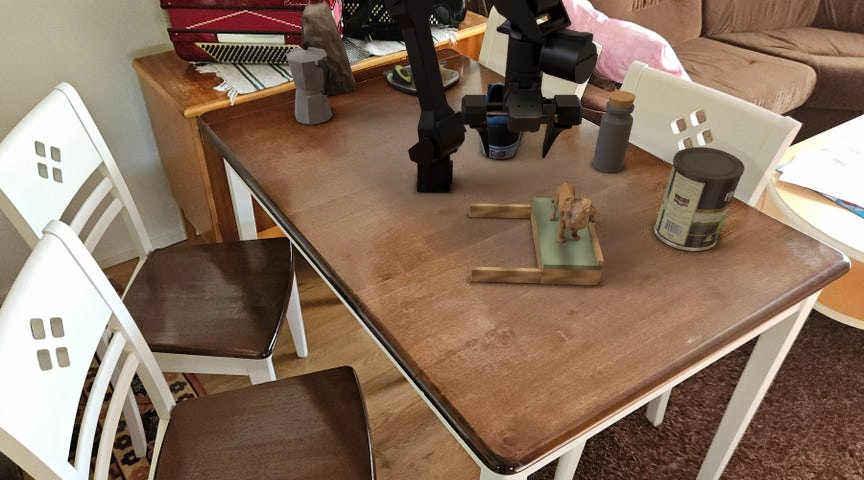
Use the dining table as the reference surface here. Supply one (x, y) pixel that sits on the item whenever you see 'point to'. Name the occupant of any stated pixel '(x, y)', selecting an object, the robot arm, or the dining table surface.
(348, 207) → the dining table surface
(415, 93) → the salad plate
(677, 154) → the coffee can
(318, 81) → the coffeepot
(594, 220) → the lion figurine
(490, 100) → the shoe
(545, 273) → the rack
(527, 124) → the robot arm
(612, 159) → the bottle
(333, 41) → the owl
